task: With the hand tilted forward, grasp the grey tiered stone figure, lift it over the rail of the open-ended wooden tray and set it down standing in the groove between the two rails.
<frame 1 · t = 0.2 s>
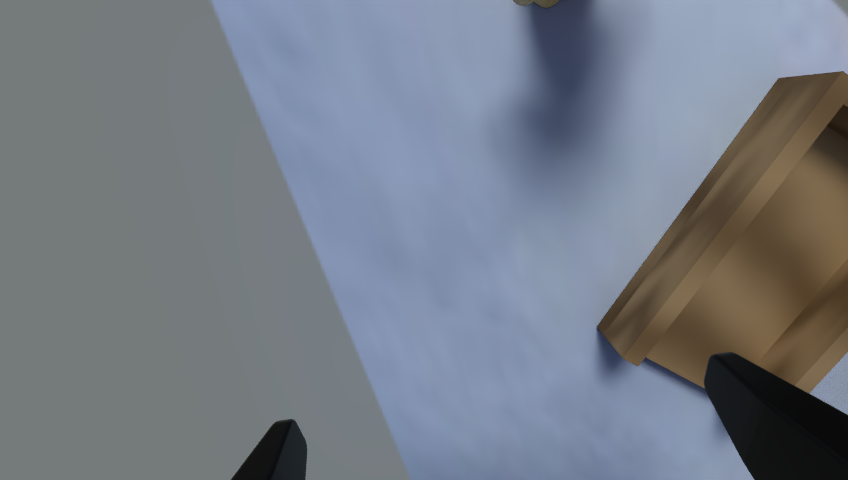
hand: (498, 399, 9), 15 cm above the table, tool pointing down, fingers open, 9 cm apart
open-ended wooden tray: (750, 254, 25), on the table
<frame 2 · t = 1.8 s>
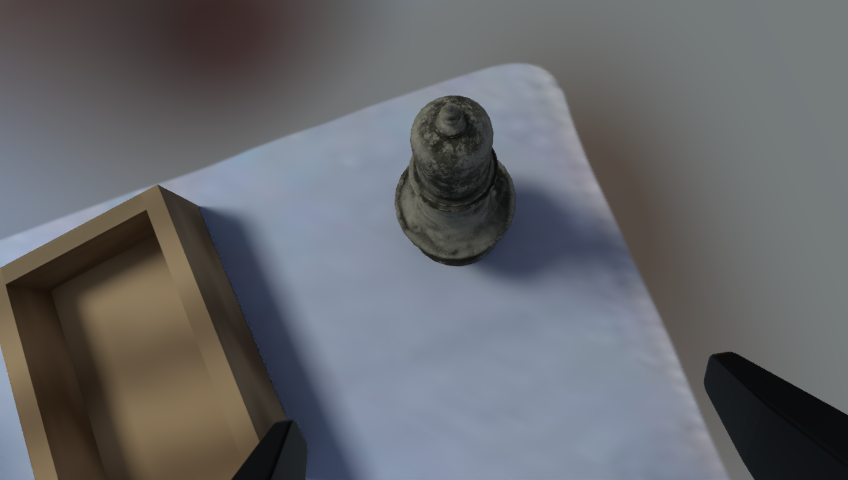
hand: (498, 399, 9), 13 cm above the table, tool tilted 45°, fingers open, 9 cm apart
grey tiered stone figure: (455, 220, 25), on the table
open-ended wooden tray: (166, 368, 24), on the table
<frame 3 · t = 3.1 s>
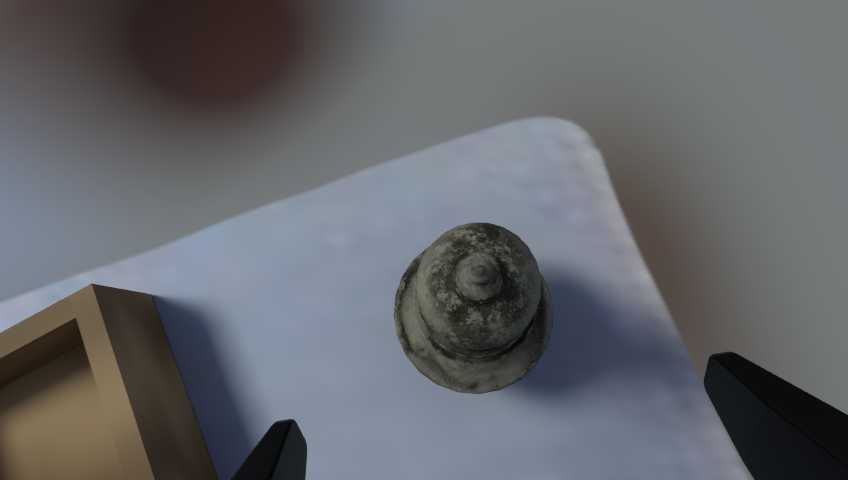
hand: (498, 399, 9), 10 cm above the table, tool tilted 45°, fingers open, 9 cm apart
grey tiered stone figure: (470, 317, 20), on the table
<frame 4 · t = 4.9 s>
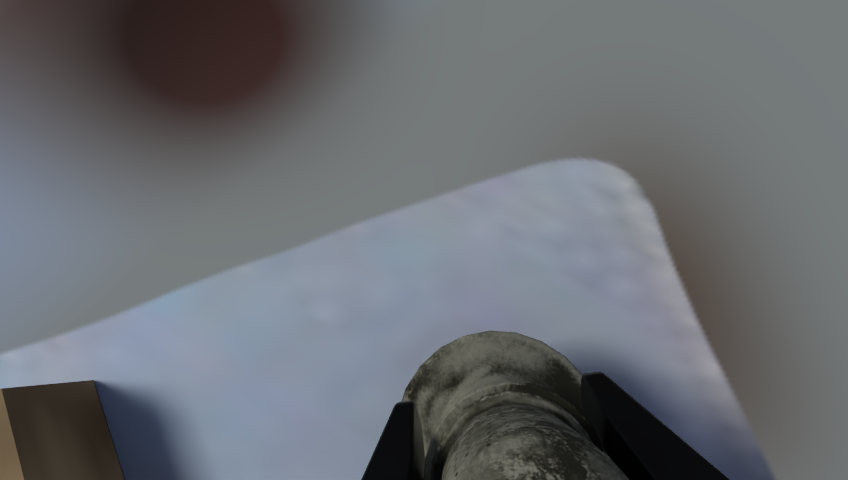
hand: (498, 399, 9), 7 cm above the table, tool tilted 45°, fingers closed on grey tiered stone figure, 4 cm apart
grey tiered stone figure: (491, 417, 16), on the table, touching gripper
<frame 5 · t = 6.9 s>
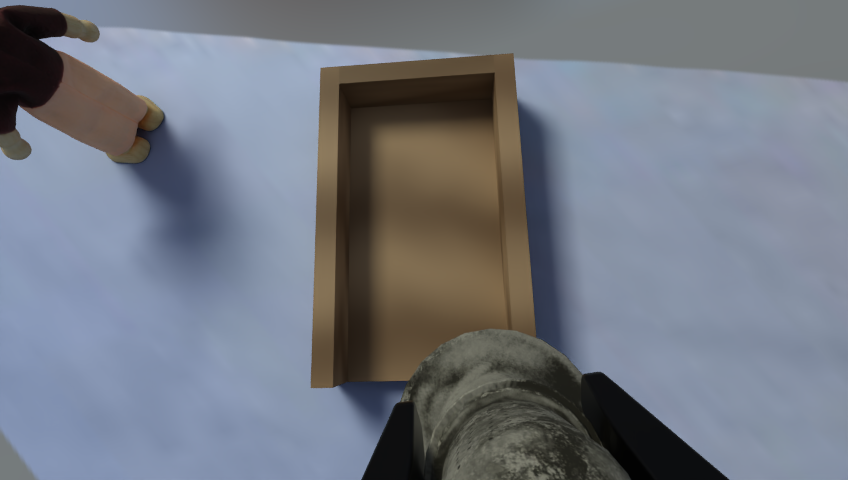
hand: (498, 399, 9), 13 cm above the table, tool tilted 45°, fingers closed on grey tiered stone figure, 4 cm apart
grey tiered stone figure: (489, 414, 16), point 6 cm above the table, touching gripper
open-ended wooden tray: (424, 227, 24), on the table
grandmother figurine: (135, 140, 27), on the table
when the fingers open (9 cm above the table, at t = 9.3 s): grey tiered stone figure drops 1 cm, resting on open-ended wooden tray.
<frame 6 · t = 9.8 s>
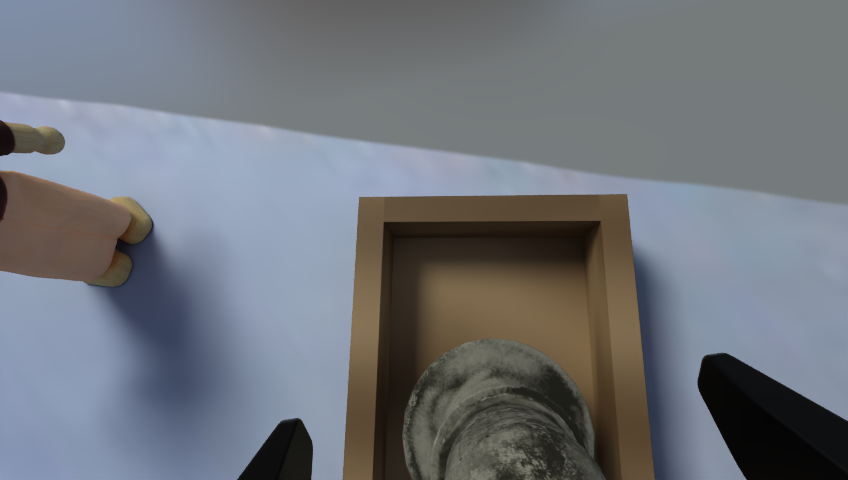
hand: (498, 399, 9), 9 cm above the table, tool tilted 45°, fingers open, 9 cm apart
grey tiered stone figure: (489, 416, 17), point 1 cm above the table, touching open-ended wooden tray
open-ended wooden tray: (487, 408, 18), on the table
grandmother figurine: (114, 254, 21), on the table
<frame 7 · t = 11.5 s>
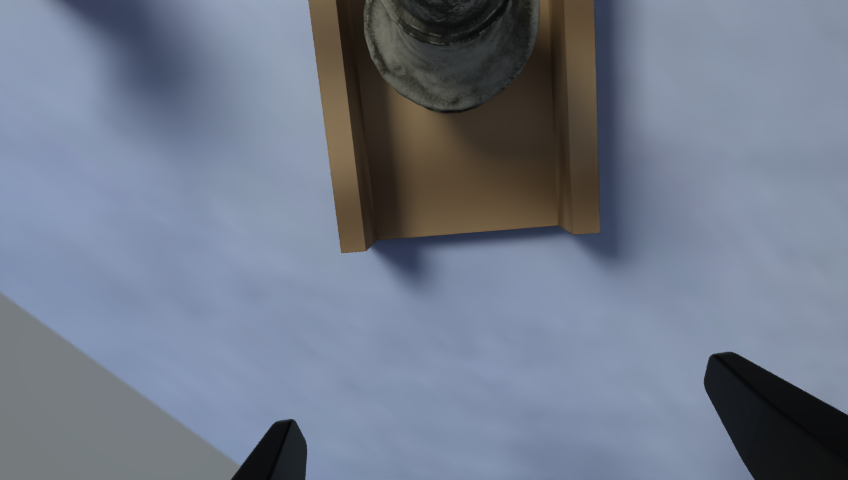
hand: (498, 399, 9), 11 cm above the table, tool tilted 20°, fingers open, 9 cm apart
grey tiered stone figure: (452, 48, 18), point 1 cm above the table, touching open-ended wooden tray
open-ended wooden tray: (451, 48, 19), on the table
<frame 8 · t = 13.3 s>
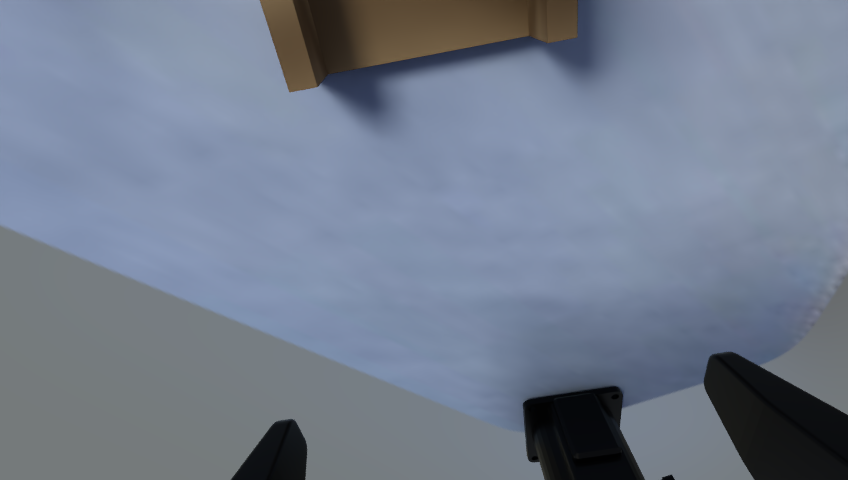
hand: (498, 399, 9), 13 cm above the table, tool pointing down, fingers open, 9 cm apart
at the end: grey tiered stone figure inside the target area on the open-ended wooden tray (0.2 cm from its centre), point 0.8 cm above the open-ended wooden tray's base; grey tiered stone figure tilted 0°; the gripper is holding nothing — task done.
